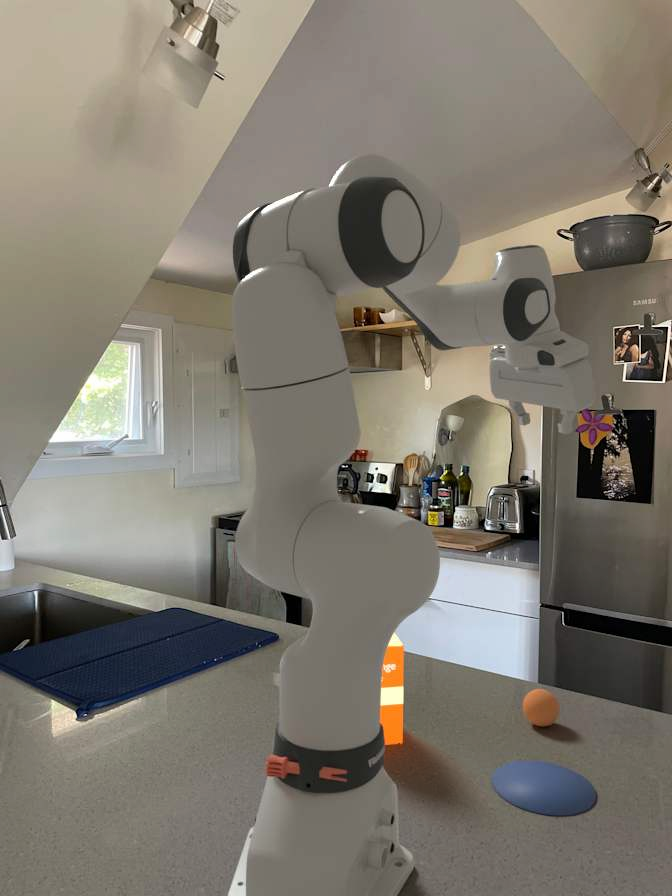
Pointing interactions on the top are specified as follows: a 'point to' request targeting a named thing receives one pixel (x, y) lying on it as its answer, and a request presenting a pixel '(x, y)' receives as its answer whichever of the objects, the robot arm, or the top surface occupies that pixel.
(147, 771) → the top surface
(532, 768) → the blue flat disc
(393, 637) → the orange juice
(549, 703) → the ball
